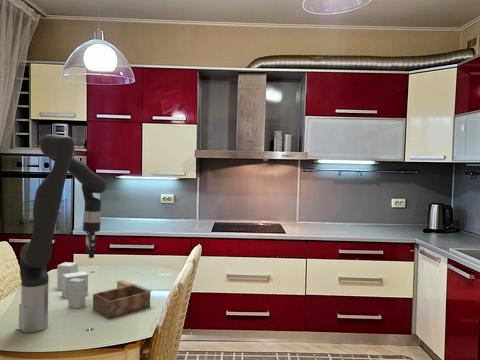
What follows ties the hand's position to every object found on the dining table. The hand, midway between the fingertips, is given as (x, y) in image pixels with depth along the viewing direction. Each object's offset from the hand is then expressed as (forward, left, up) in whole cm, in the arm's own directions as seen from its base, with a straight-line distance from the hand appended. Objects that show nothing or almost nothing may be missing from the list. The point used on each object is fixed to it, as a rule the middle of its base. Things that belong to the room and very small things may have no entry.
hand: (90, 256), depth 179 cm
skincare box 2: (-7, -2, -22) cm, 23 cm away
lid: (+19, +1, -22) cm, 29 cm away
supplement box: (+1, +26, -22) cm, 34 cm away
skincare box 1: (-1, +13, -22) cm, 26 cm away
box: (+6, -18, -21) cm, 28 cm away
